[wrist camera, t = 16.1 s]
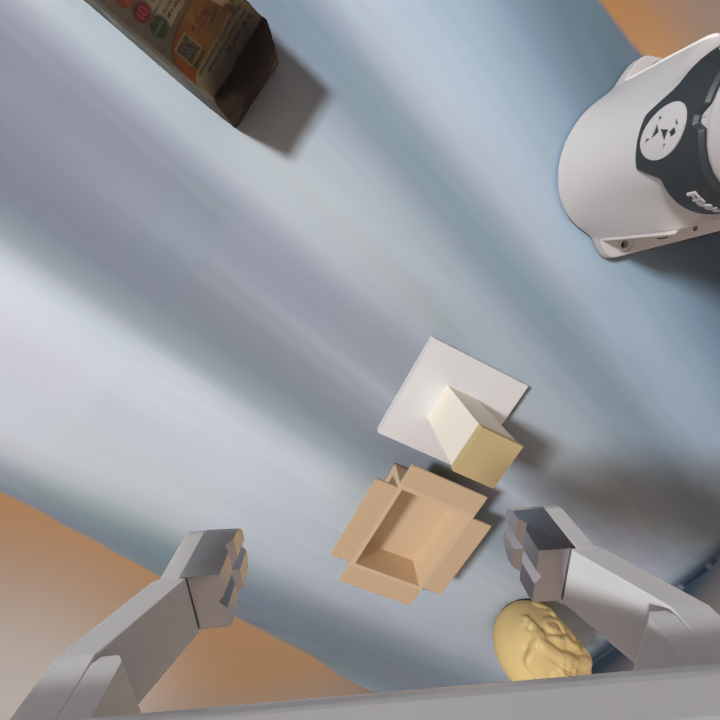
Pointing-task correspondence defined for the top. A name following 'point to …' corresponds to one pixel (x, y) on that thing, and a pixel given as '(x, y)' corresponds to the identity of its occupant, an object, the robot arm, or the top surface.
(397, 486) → the carton
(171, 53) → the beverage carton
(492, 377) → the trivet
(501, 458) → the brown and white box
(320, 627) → the top surface
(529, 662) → the sculpture
